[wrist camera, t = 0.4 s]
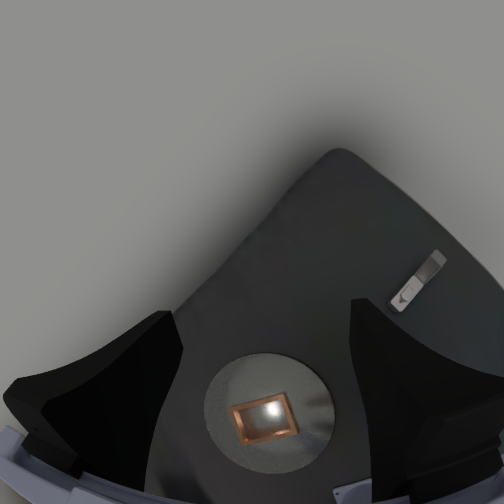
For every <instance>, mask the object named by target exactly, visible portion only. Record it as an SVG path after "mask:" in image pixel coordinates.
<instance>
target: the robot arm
mask: <svg viewBox="0 0 504 504" xmlns="http://www.w3.org/2000/svg"><path fill="white" fill-rule="evenodd" d="M349 343H350V350H351V356H352V363H353V366H354V370H355V374H356V377H357V381H358V384H359V388H360V392H361V395H362V399H363V403H364V407H365V412H366V417H367V425H368V433H369V444H370V456H371V478H369V479H365V480H362V481H359V482H356V483H352V484H348V485H345V486H341V487H337V488H334V489H333V494H334V496H335V499H336V502H337V504H504V452H503V453H502V454H501V455H500V453H499V450H498V447H499V446H500V445H501V440H500V438H499V434H500V432H501V431H502V430H503V428H504V377H499V376H496V375H492V374H488V373H484V372H480V371H477V370H475V369H472V368H469V367H466V366H464V365H461V364H459V363H456V362H454V361H452V360H450V359H448V358H446V357H444V356H442V355H440V354H438V353H436V352H434V351H433V350H431V349H429V348H428V347H426V346H425V345H423V344H421V343H420V342H418V341H417V340H415V339H414V338H413V337H411V336H410V335H409V334H407V333H406V332H405V331H403V330H402V329H401V328H400V327H398V326H397V325H396V324H395V323H393V322H392V321H391V320H390V319H389V318H388V317H387V316H385V315H384V314H383V313H382V312H381V311H380V310H379V309H378V308H377V307H376V306H375V305H374V304H373V303H371V302H370V301H369V300H368V299H367V298H362V299H353V300H351V317H350V336H349ZM183 349H184V348H183V345H182V342H181V340H180V337H179V334H178V331H177V328H176V325H175V322H174V319H173V316H172V313H171V311H157V312H155V313H153V314H152V315H150V316H148V317H147V318H145V319H144V320H143V321H141V322H140V323H138V324H137V325H135V326H134V327H133V328H131V329H130V330H128V331H127V332H125V333H124V334H122V335H121V336H119V337H118V338H116V339H115V340H113V341H112V342H110V343H109V344H107V345H106V346H104V347H103V348H101V349H99V350H97V351H95V352H94V353H92V354H90V355H88V356H86V357H84V358H82V359H80V360H77V361H75V362H73V363H71V364H68V365H65V366H63V367H60V368H57V369H54V370H51V371H48V372H44V373H41V374H37V375H32V376H27V377H22V378H17V379H16V380H15V381H14V382H13V383H12V384H11V385H10V387H9V388H8V389H7V390H6V391H5V393H4V394H3V400H4V402H5V404H6V406H7V407H8V408H9V410H10V411H11V413H12V414H13V415H14V417H15V418H16V419H17V420H18V421H19V422H20V424H21V425H22V426H23V427H24V428H25V429H26V430H27V431H28V432H29V434H28V435H27V437H25V436H24V435H22V434H21V433H20V432H18V431H17V430H15V429H13V428H12V427H10V426H8V425H6V426H5V428H4V429H3V431H2V432H1V434H0V478H1V479H2V480H3V481H4V482H6V483H7V484H8V485H9V486H10V487H12V488H13V489H14V490H15V491H17V492H18V493H19V494H20V495H22V496H23V497H24V498H26V499H27V500H28V501H30V502H31V503H33V504H193V503H187V502H182V501H177V500H173V499H168V498H164V497H160V496H156V495H152V494H148V493H145V492H144V485H145V476H146V468H147V462H148V456H149V451H150V446H151V442H152V438H153V433H154V430H155V426H156V422H157V419H158V416H159V413H160V410H161V408H162V405H163V403H164V401H165V398H166V396H167V394H168V391H169V389H170V387H171V385H172V382H173V380H174V378H175V375H176V373H177V370H178V368H179V364H180V361H181V357H182V353H183ZM336 493H339V494H336Z"/></svg>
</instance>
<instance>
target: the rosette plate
mask: <svg viewBox="0 0 504 504" xmlns="http://www.w3.org/2000/svg"><path fill="white" fill-rule="evenodd" d="M204 416H205V421H206V425H207V428H208V431H209V433H210V436H211V438H212V439H213V441H214V442H215V444H216V445H217V447H218V448H219V449H220V450H221V451H222V452H223V453H224V454H225V455H226V456H227V457H228V458H229V459H231V460H232V461H234V462H235V463H237V464H238V465H240V466H242V467H244V468H247V469H249V470H252V471H256V472H260V473H268V474H280V473H287V472H291V471H295V470H297V469H300V468H302V467H304V466H306V465H308V464H309V463H311V462H312V461H313V460H315V459H316V458H317V457H318V456H319V455H320V454H321V453H322V452H323V450H324V449H325V448H326V446H327V444H328V443H329V441H330V439H331V436H332V433H333V429H334V424H335V407H334V402H333V399H332V396H331V393H330V391H329V389H328V387H327V386H326V384H325V382H324V381H323V380H322V379H321V377H320V376H319V375H318V374H317V373H316V372H315V371H314V370H313V369H311V368H310V367H309V366H307V365H306V364H304V363H302V362H301V361H299V360H297V359H294V358H292V357H289V356H286V355H282V354H276V353H257V354H252V355H248V356H244V357H241V358H239V359H236V360H234V361H233V362H231V363H229V364H228V365H226V366H225V367H224V368H222V369H221V370H220V371H219V372H218V373H217V375H216V376H215V377H214V379H213V380H212V382H211V384H210V386H209V388H208V390H207V393H206V397H205V403H204Z"/></svg>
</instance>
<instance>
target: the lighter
mask: <svg viewBox="0 0 504 504" xmlns="http://www.w3.org/2000/svg"><path fill="white" fill-rule="evenodd" d="M445 262H446V258H445V257H444V256H443V255H442V254H441V253H440V252H439V251H438V250H434V252H433V253H432V254H431V255H430V256H429V257H428V258H427V260H426V261H425V262H424V263H423V264H422V265H421V266H420V267H419V269H418V270H417V271H416V273H415V274H414V275H415V276H412V277H411V278H410V279H409V280H407V281H406V282H405V284H404V285H403V286H402V287H401V288H400V289H399V291H398V292H397V293H396V294H395V295H394V296H393V297H392V298H391V300H390V301H389V302H388V303H387V306H388V307H389V308H390V309H391V310H392V311H393V312H394V313H398V312H402V311H403V309H404V308H405V307H406V306H407V305H408V304H409V303H410V301H411V300H412V299H413V298H414V297H415V296H416V294H417V293H418V292H419V291H420V290H421V288H422V287H423V284H426V283H427V282H428V281H429V280H430V279H431V278H432V277H433V276H434V275H435V274H436V273H437V272H438V271H439V270H440V269H441V268H442V267H443V265H444V264H445Z"/></svg>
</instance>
